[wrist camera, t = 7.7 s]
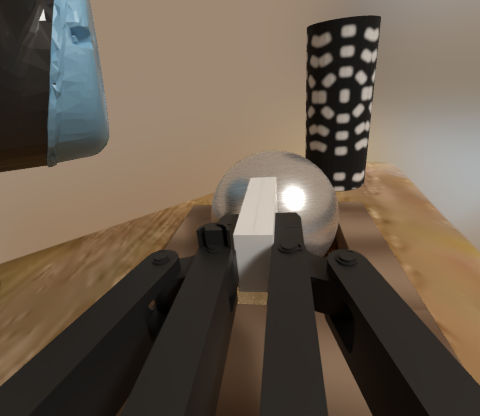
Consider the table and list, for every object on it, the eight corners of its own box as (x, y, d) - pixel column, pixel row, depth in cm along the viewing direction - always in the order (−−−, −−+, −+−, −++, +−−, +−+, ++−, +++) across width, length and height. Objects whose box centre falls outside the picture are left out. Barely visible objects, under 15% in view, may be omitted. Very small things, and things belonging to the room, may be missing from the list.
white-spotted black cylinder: (371, 190, 38) (391, 12, 29) (307, 192, 39) (309, 22, 31) (356, 171, 45) (369, 24, 37) (303, 173, 47) (304, 32, 38)
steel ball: (183, 160, 23) (197, 276, 25) (256, 142, 15) (273, 317, 16) (273, 155, 29) (281, 249, 30) (363, 139, 21) (369, 270, 22)
